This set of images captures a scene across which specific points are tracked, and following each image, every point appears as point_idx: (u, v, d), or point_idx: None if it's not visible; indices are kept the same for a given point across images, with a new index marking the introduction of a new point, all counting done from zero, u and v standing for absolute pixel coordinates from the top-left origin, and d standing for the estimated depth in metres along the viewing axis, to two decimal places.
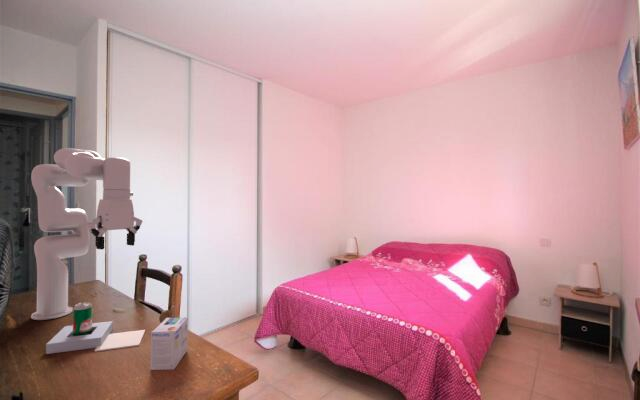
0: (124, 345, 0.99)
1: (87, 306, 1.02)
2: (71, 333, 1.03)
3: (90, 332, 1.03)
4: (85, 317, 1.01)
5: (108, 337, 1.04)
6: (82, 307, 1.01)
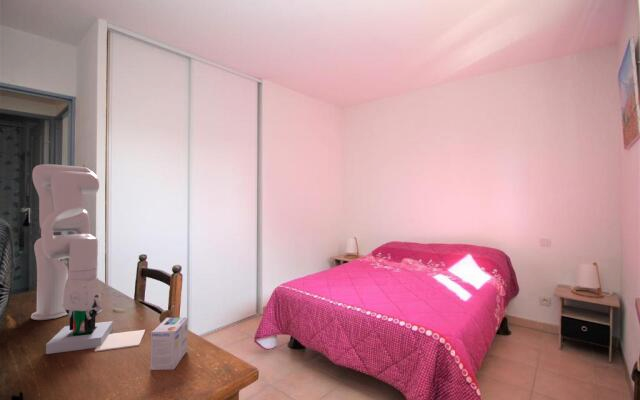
0: (124, 345, 0.99)
1: None
2: (71, 333, 1.03)
3: (90, 332, 1.03)
4: (85, 317, 1.01)
5: (108, 337, 1.04)
6: None
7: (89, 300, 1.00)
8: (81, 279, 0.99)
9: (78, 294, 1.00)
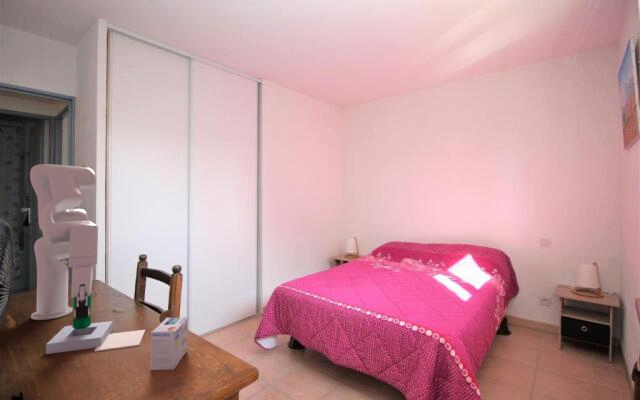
0: (124, 345, 0.99)
1: None
2: (71, 333, 1.03)
3: (84, 320, 1.01)
4: None
5: (108, 337, 1.04)
6: None
7: (73, 288, 0.98)
8: (71, 265, 0.99)
9: None
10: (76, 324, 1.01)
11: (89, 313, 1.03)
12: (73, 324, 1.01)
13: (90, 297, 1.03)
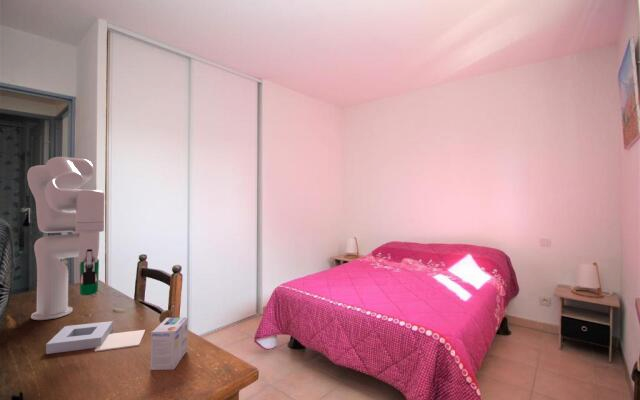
0: (124, 345, 0.99)
1: None
2: (71, 333, 1.03)
3: (91, 287, 1.01)
4: None
5: (108, 337, 1.04)
6: None
7: (80, 253, 0.97)
8: (78, 230, 0.99)
9: None
10: (84, 290, 1.00)
11: (96, 280, 1.03)
12: (80, 291, 1.01)
13: (97, 264, 1.03)
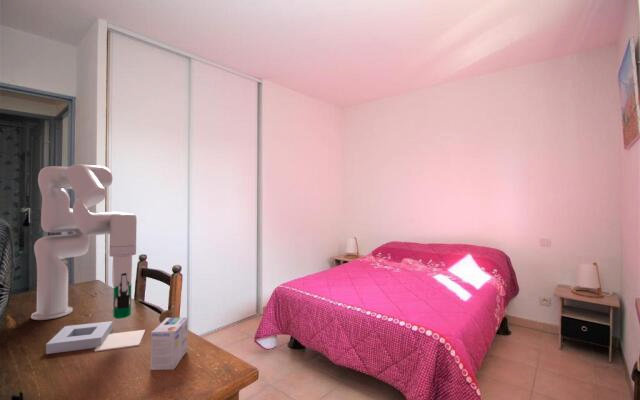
0: (124, 345, 0.99)
1: None
2: (71, 333, 1.03)
3: (125, 310, 1.02)
4: None
5: (108, 337, 1.04)
6: None
7: (115, 277, 0.98)
8: (113, 255, 1.00)
9: None
10: (118, 313, 1.01)
11: (129, 303, 1.03)
12: (114, 314, 1.01)
13: (130, 287, 1.03)
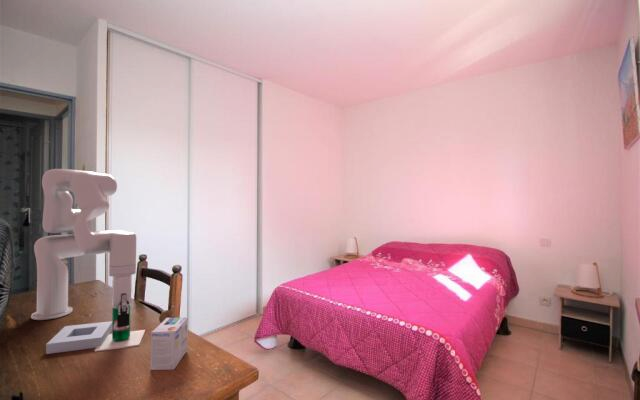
0: (124, 345, 0.99)
1: None
2: (71, 333, 1.03)
3: (123, 333, 1.02)
4: None
5: (108, 337, 1.04)
6: None
7: (114, 297, 0.98)
8: (112, 274, 1.00)
9: (112, 289, 1.01)
10: (117, 336, 1.01)
11: (128, 325, 1.03)
12: (113, 337, 1.01)
13: (129, 309, 1.04)
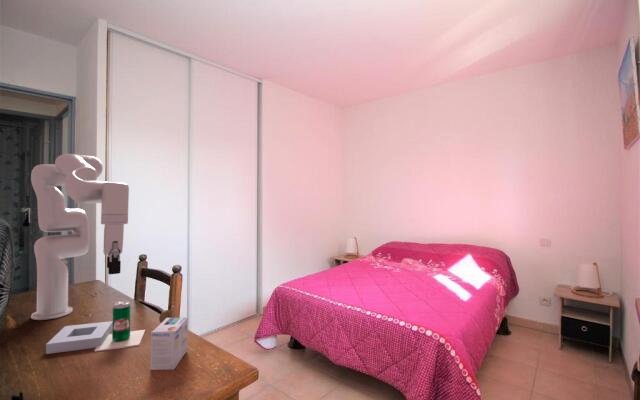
0: (124, 345, 0.99)
1: (120, 306, 1.01)
2: (71, 333, 1.03)
3: (124, 333, 1.02)
4: (117, 317, 1.01)
5: (108, 337, 1.04)
6: (116, 306, 1.01)
7: (106, 244, 0.98)
8: (104, 222, 1.00)
9: (104, 237, 1.01)
10: (117, 336, 1.01)
11: (128, 325, 1.03)
12: (113, 337, 1.01)
13: (129, 309, 1.04)
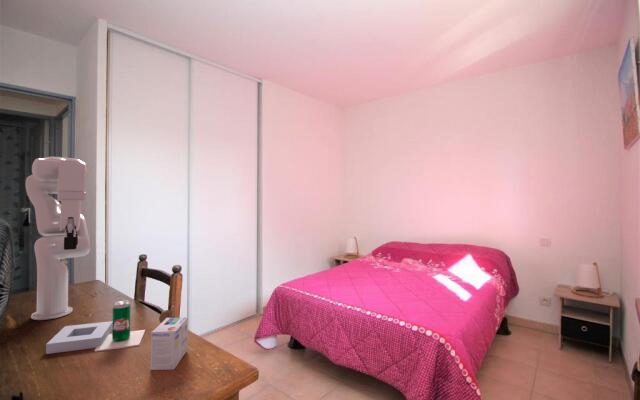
0: (124, 345, 0.99)
1: (120, 306, 1.01)
2: (71, 333, 1.03)
3: (124, 333, 1.02)
4: (117, 317, 1.01)
5: (108, 337, 1.04)
6: (116, 306, 1.01)
7: (61, 220, 1.00)
8: (60, 199, 1.02)
9: None
10: (117, 336, 1.01)
11: (128, 325, 1.03)
12: (113, 337, 1.01)
13: (129, 309, 1.04)
